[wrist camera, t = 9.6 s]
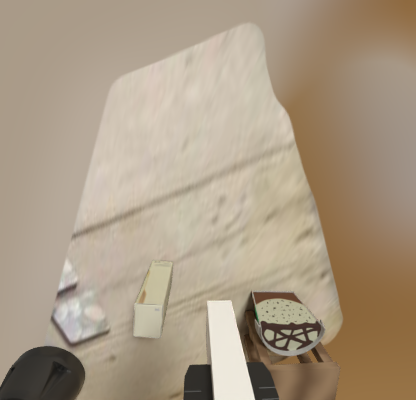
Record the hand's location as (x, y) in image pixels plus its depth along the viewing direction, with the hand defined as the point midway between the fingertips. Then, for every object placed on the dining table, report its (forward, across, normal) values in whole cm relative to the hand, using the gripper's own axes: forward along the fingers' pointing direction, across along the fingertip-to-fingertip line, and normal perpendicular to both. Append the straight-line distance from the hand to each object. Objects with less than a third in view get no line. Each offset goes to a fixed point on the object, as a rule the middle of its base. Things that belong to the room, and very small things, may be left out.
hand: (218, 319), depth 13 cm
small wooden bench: (+27, +16, -27) cm, 42 cm away
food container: (+28, +16, -21) cm, 38 cm away
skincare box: (+28, -8, -14) cm, 32 cm away
